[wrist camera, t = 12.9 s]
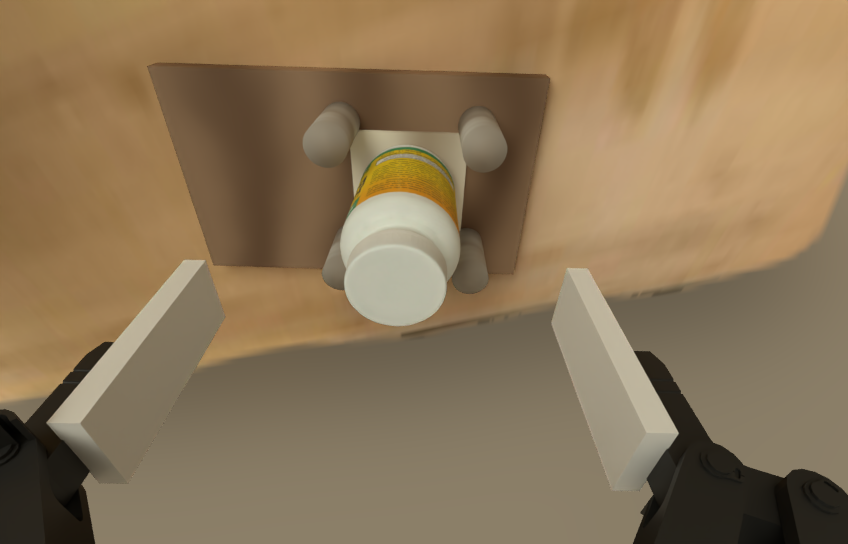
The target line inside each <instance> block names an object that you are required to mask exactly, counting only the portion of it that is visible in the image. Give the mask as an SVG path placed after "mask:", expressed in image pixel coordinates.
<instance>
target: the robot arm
mask: <svg viewBox="0 0 848 544" xmlns="http://www.w3.org/2000/svg"><path fill="white" fill-rule="evenodd" d="M224 319H225V314H224V311H223V308H222V306H221V303H220V300H219V297H218V294H217V291H216V289H215V286H214V283H213V280H212V277H211V274H210V272H209V269H208V266H207V263H206V260H184V261H183V262H182V263H181V264H180V265H179V266H178V268H177V269H176V270H175V271H174V272H173V274H172V275H171V276H170V277H169V278H168V279H167V281H166V282H165V283H164V284H163V285H162V287H161V288H160V289H159V290H158V291H157V292H156V294H155V295H154V296H153V297H152V298H151V300H150V301H149V302H148V303H147V304H146V305H145V307H144V308H143V309H142V310H141V311H140V313H139V314H138V315H137V316H136V317H135V318H134V320H133V321H132V322H131V323H130V324H129V326H128V327H127V328H126V329H125V330H124V332H123V333H122V334H121V335H120V336H119V337H118V339H117V340H116V341H115V342H104V343H102V344H101V345H100V346H98V347H97V348H95V349H94V350H92V351H91V352H89V353H88V354H87V355H86V356H85V357H84V358H83V359H82V360H81V361H80V362H79V363H78V365H77V366H76V367H75V368H74V371H73V372H70V374H69V375H68V376H67V377H66V378H65V379H64V380H63V384H60V385H59V386H58V387H57V388H56V389H55V390H54V391H53V393H52V394H51V395H50V396H49V397H48V398H47V399H46V400H45V402H44V403H43V404H42V405H41V406H40V407H39V408H38V409H37V411H36V412H35V413H34V414H33V415H32V416H31V417H30V418H29V420H28V421H27V422H26V423H25V424H24V423H23V422H22V421H21V420H20V419H19V417H18V416H17V415H16V414H15V413H14V412H12V411H9V410H6V409H4V410H0V544H95V540H94V535H93V530H92V524H91V518H90V512H89V507H88V501H87V495H86V491H85V489H84V487H83V486H82V485H81V484H82V482H83V481H84V479H85V478H86V476H87V475H88V473H89V472H90V473H91V474H92V475H93V476H94V478H95V479H96V480H97V481H98V482H99V483H117V484H118V483H120V484H128V483H129V481H130V480H131V478H132V476H133V475H134V473H135V471H136V469H137V468H138V466H139V464H140V463H141V461H142V459H143V457H144V455H145V454H146V452H147V451H148V449H149V447H150V445H151V444H152V442H153V440H154V439H155V437H156V435H157V433H158V432H159V430H160V428H161V427H162V425H163V423H164V421H165V420H166V418H167V416H168V415H169V413H170V411H171V409H172V408H173V406H174V404H175V402H176V401H177V399H178V397H179V396H180V394H181V392H182V390H183V389H184V387H185V385H186V384H187V382H188V380H189V378H190V377H191V375H192V373H193V372H194V370H195V368H196V367H197V365H198V363H199V361H200V360H201V358H202V356H203V355H204V353H205V351H206V349H207V348H208V346H209V344H210V343H211V341H212V339H213V337H214V336H215V334H216V332H217V331H218V329H219V327H220V325H221V324H222V322H223V320H224ZM551 324H552V327H553V330H554V333H555V335H556V338H557V341H558V344H559V346H560V349H561V352H562V355H563V357H564V360H565V363H566V366H567V369H568V371H569V374H570V377H571V380H572V382H573V385H574V388H575V391H576V393H577V396H578V399H579V402H580V404H581V407H582V410H583V413H584V416H585V418H586V421H587V424H588V427H589V429H590V432H591V435H592V438H593V441H594V443H595V446H596V449H597V452H598V454H599V457H600V460H601V463H602V465H603V468H604V471H605V474H606V476H607V479H608V482H609V485H610V488H611V490H612V491H640V489H641V488H642V487H643V485H644V484H645V482H646V481H648V483H649V485H650V487H651V490H652V492H653V494H654V495H653V496H652V497H651V499H650V500H649V501H648V503H647V504H646V506H645V507H644V508H643V510H642V511H641V514H643V515H644V516H643V519H642V522H641V524H640V527H639V529H638V532H637V534H636V537H635V539H634V542H633V544H848V495H847V494H846V493H845V492H844V490H843V489H842V488H840V487H839V486H838V485H836V484H835V483H834V482H832V481H831V480H829V479H828V478H826V477H824V476H822V475H820V474H818V473H816V472H813V471H808V470H805V469H798V470H792V471H791V472H790V473H789V474H788V475H787V476H786V477H785V478H782V477H779V476H776V475H772V474H769V473H766V472H762V471H759V470H756V469H752V468H749V467H747V466H744V465H743V464H742V462H741V461H740V460H739V459H738V458H737V457H736V456H735V455H734V454H733V453H731V452H730V451H728V450H727V449H726V448H724V447H722V446H720V445H718V444H715V443H713V442H712V441H711V439H710V438H709V436H708V435H707V433H706V431H705V430H704V428H703V426H702V425H701V423H700V422H699V420H698V418H697V417H696V415H695V413H694V412H693V410H692V408H691V407H690V405H689V404H688V402H687V400H686V399H685V397H684V396H683V394H681V391H680V389H679V387H678V386H677V384H676V382H674V381H673V378H672V376H671V374H670V373H669V371H668V369H667V368H666V367H665V365H664V364H663V363H662V362H661V361H660V360H659V359H658V358H657V357H656V356H655V355H653V354H652V353H651V352H650V351H649V352H648V351H633V349H632V348H631V346H630V344H629V343H628V341H627V339H626V337H625V335H624V333H623V331H622V330H621V328H620V326H619V324H618V322H617V320H616V319H615V317H614V315H613V313H612V312H611V310H610V308H609V306H608V304H607V302H606V301H605V299H604V297H603V295H602V293H601V292H600V290H599V288H598V286H597V284H596V283H595V281H594V279H593V277H592V275H591V273H590V272H589V270H588V268H567V269H566V273H565V276H564V280H563V283H562V287H561V291H560V294H559V298H558V301H557V305H556V308H555V312H554V315H553V319H552V323H551Z"/></svg>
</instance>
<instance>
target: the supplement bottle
mask: <svg viewBox="0 0 848 544" xmlns="http://www.w3.org/2000/svg"><path fill="white" fill-rule="evenodd" d="M340 250H341V256H342V260H343V263H344V265H345V267H346V272H345V277H344V288H345V293H346V295H347V298H348V300H349V302H350V303H351V305H352V306H353V307H354V308H355V309H356V310H357V311H358V312H359V313H360V314H361V315H362V316H364V317H366V318H367V319H369V320H372V321H374V322H376V323H380V324H383V325H389V326H407V325H413V324H416V323H419V322H421V321H424V320H426V319H427V318H429V317H431V316H432V315H433V314H434V313H435V312H436V311H437V310H438V309H439V308H440V306H441V305H442V303H443V301H444V299H445V296H446V292H447V281H448V280H449V279H450V278H451V276H452V275H453V273H454V271H455V269H456V267H457V265H458V262H459V258H460V234H459V226H458V218H457V208H456V198H455V187H454V182H453V178H452V176H451V173H450V171H449V170H448V168H447V167H446V165H445V164H444V163H443V162H442V160H441V159H440V158H438V157H437V156H436V155H435V154H434V153H432V152H430V151H429V150H427V149H424V148H422V147H418V146H413V145H398V146H393V147H390V148H388V149H386V150H384V151H382V152H381V153H379V154H378V155H377V156H376V157H375V158H373V159H372V161H371V162H370V163H369V164H368V166H367V167H366V169H365V171H364V173H363V176H362V178H361V181H360V184H359V186H358V189H357V191H356V194H355V197H354V200H353V202H352V205H351V207H350V210H349V213H348V215H347V218H346V221H345V223H344V226H343V229H342V233H341V239H340Z"/></svg>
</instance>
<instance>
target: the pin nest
mask: <svg viewBox="0 0 848 544" xmlns="http://www.w3.org/2000/svg"><path fill="white" fill-rule="evenodd" d="M147 67H148V70H149V73H150V76H151V79H152V82H153V85H154V88H155V91H156V94H157V97H158V100H159V103H160V106H161V109H162V112H163V115H164V118H165V121H166V124H167V127H168V130H169V133H170V136H171V139H172V142H173V145H174V148H175V151H176V154H177V157H178V160H179V163H180V166H181V169H182V172H183V175H184V178H185V181H186V184H187V187H188V190H189V193H190V196H191V199H192V202H193V205H194V208H195V211H196V214H197V217H198V220H199V223H200V226H201V229H202V232H203V235H204V238H205V241H206V244H207V247H208V250H209V253H210V256H211V259H212V262H213V265H220V266H254V267H287V268H320V269H323V270H322V277H323V279H324V281H325V282H326V283H327V284H328V285H329V286H330V287H332V288H334V289H338V290H345V288H344V277H345V272H346V267H345V265H344V263H343V260H342V256H341V250H340V239H341V233H342V229H343V226H344V223H345V221H346V218H347V215H348V213H349V210H350V207H351V205H352V202H353V200H354V197H355V194H356V191H357V189H358V186H359V184H360V181H361V178H362V176H363V173H364V171H365V169H366V167H367V166H368V164H369V163H370V162H371V161H372V159H373V158H375V157H376V156H377V155H378V154H379V153H381V152H382V151H384V150H386V149H388V148H390V147H393V146H398V145H413V146H418V147H422V148H424V149H427V150H429V151H430V152H432V153H434V154H435V155H436V156H437V157H438V158H440V159H441V160H442V162H443V163H444V164H445V165H446V167H447V168H448V170H449V171H450V173H451V176H452V178H453V182H454V187H455V198H456V208H457V218H458V226H459V234H460V258H459V262H458V265H457V267H456V269H455V271H454V273H453V275H452V282H453V285H454V287H455V288H456V289H457V290H458V291H460V292H462V293H466V294H473V293H477V292H479V291H481V290H483V289H484V288H485V287H486V285H487V283H488V279H489V278H488V274H514V269H515V264H516V258H517V253H518V248H519V242H520V237H521V232H522V226H523V221H524V216H525V210H526V205H527V200H528V195H529V189H530V184H531V179H532V173H533V168H534V163H535V157H536V152H537V147H538V141H539V136H540V131H541V125H542V120H543V115H544V109H545V104H546V99H547V93H548V88H549V83H550V78H549V77H548V76H547V75H543V74H510V73H478V72H445V71H412V70H379V69H346V68H313V67H281V66H248V65H215V64H182V63H156V64H152V65H149V66H147Z"/></svg>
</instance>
